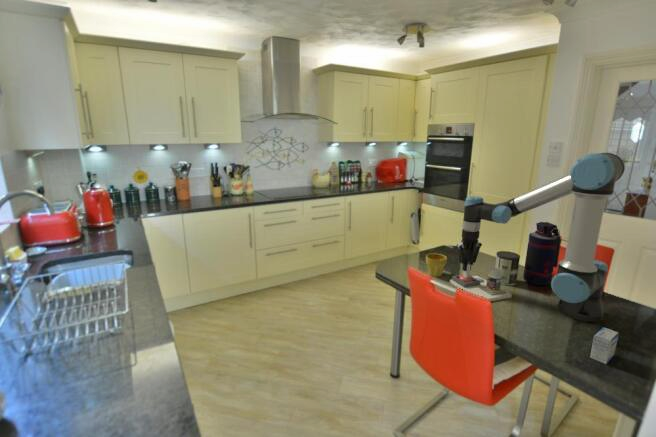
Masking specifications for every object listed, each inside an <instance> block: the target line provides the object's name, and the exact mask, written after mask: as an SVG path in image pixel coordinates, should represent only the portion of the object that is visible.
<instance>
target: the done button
mask: <svg viewBox="0 0 656 437" xmlns="http://www.w3.org/2000/svg"><path fill="white" fill-rule="evenodd" d="M459 275H460V276H459V279H460V280H462V281H463V282H471V281H473V277H471V276H472V275H470V276H469V278H466V277H464V276H463V274H459Z"/></svg>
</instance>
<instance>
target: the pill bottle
mask: <svg viewBox="0 0 656 437" xmlns="http://www.w3.org/2000/svg"><path fill="white" fill-rule="evenodd" d="M500 274H501V270H500V269H497V268H495V267H491V268H489V273H488V274H487V279H486V281H487V285H486V289H487V290H488V291H490V292H499V291H500V288H501V285H502V284H501V278H502V277H501V275H500Z"/></svg>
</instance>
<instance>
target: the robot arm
mask: <svg viewBox="0 0 656 437" xmlns="http://www.w3.org/2000/svg"><path fill="white" fill-rule="evenodd" d="M625 169H626V166H625V162H624V160H623V159H622V158H621V157H620V156H619V155H617V154H615V153H612V152H599V153H598V152H597V153H596V152H595V153H589V154H586V155H584V156H582V157H579V159H577V160H576V161H575V162H573V164H572V166H571V168H570V171H569V173H568V174H566V175H563V176H561V177H558V178H557V179H554V180H552V181H549V182H548V183H546V184H543V185H541V186H538V187H536V188H534V189H531V190H529V191H527V192H524V193H522V194H521V195H518V196H516V197H513V198H511V199H508V200H506V201H503V202H499V203H495V204H494V203H487V202H485V201H484V198H483V197H481V196H475V195H474V196H473V195H470V196H467V197H466V198H465V202H464V206H463V208H464V210H463V213H464V214H463V220H462V221H463V222H462V230H461V238H462V239H461V241H460V243H459V244H458V243H457V244H456V248H457V253H458V261H459V263H460V264H462V275H463V276H464V277H466V278H469V275H470V272H471V270H472V266H473V265H474V263H476V262H477V258H478V256H479V252H480V249H481V247H482V246H483V244H482V243H481V242H480V241H479V239H480V232H481V231H480V229H481V224H482V223H481V222H482V220H484V221H487V222H492V223H496V224H504V225H505V224H508V222H509V221H510V220H511V218H514V217H516V216H518V215H521V214H524V213H526V212H528V211H530V210H533V209H536V208H538V207H540V206H541V207H542V206H543V205H546V204H549V203H551V202H553V201H556V200H559V199H562V198H564V197H567V196H569V195H572V194H573V195H574V196H575V198H574V202H573V203H574V204H573V210H572V215H571V220H570V225H569V233H568V236H567V237H568V238H567V243H566V247H565V254H564V258H563V259H561V260H558V264H557V272H556V274H555V275H554V276H553V277H552V279H551V283H550V285H551V286H550V287H551V289H552V292H553V293H554V294H555V295H556V296H557V297H558V299H559V300H558V303H557V310H558V311H559V312H560V313H561V314H563V315H565V316H567V317H569V318H571V319H574V320H576V321H577V320H578V321H582V322H586V323H587V322H588V323H598V322H601V321H602V320H604V316H605V315H604V314H605V313H604V307H603V304H602V303H603V301H602V296H603V293H604V292H603V291H604V287H605V285H606V284H605V283H606V279H607V273H609V271H608V268H609V266H608V264H607V263H605V262H603V261H601V260H599V259H595V256H596V252H597V246H598V245H597V244H598V240H599V236H600V231H601V226H602V220H603V216H604V212H605V211H604V210H605V207H606V206H605V205H606V201H607V199H609V197H612V196H613V194H614V190H615V186H616V182H618V180H620V179H621V178H622V177H623V175H624V173H625Z"/></svg>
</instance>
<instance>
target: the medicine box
mask: <svg viewBox="0 0 656 437" xmlns="http://www.w3.org/2000/svg"><path fill="white" fill-rule="evenodd" d="M619 334H620V333H619V332H618V331H616V330H615V331H614V330H612V329H610V328H606V327H602V328H601V329H600V330H599V331H597V333H595V334H594V336H593V340H592V345H591V351H590V359H593V360H594V361H597V362H600V363H602V364H603V365H607V364H608V363H609V362H610V360H612V358H613V357H614V356H615V353H616V348H617V344H618V341H619V336H620V335H619Z"/></svg>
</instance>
